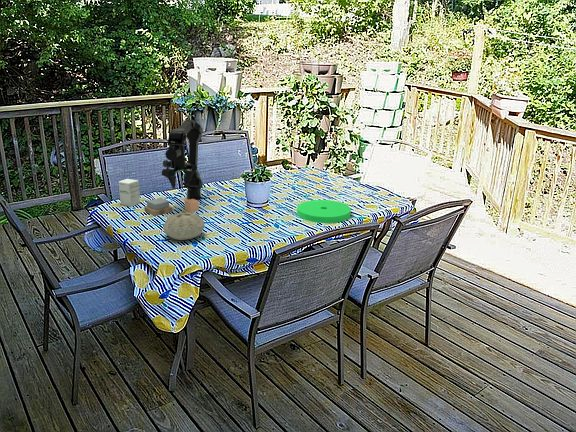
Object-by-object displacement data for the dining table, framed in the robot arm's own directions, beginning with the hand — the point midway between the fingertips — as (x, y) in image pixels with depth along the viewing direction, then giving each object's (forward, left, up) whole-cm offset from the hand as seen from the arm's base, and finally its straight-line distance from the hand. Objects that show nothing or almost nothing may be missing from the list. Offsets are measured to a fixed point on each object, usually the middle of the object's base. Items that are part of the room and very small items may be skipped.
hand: (180, 186), depth 253 cm
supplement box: (+15, -25, -13) cm, 32 cm away
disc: (-51, +52, -13) cm, 73 cm away
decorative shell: (+18, +32, -13) cm, 39 cm away
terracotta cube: (-4, +4, -13) cm, 13 cm away
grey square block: (+10, -6, -10) cm, 15 cm away
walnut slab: (+10, -5, -13) cm, 18 cm away
